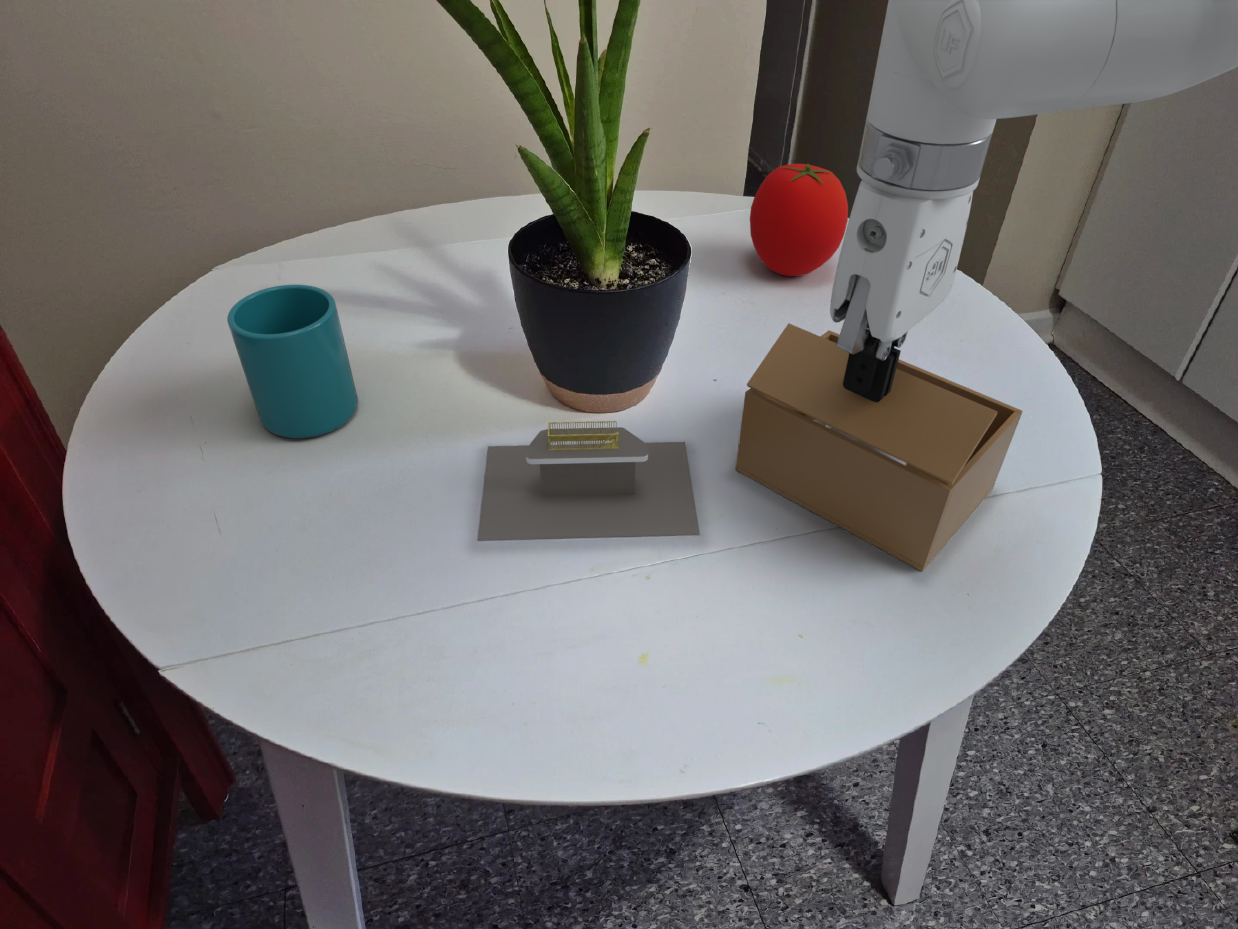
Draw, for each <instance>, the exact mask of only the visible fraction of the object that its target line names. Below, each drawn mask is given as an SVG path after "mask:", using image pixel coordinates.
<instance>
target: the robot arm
mask: <svg viewBox="0 0 1238 929" xmlns="http://www.w3.org/2000/svg"><path fill="white" fill-rule="evenodd" d="M882 28H883V29H882V34H881V39H880V43H879V44H880V45H879V50H878V53H877V54H878V55H877V60H876V66H875V71H874V76H873V82H872V87H871V91H870V92H871V94H870V98H869V103H868V108H867V113H866V118H865V123H864V129H863V134H862V139H861V144H860V148H859V149H860V150H859V155H858V159H857V165H856V173H857V176H858V177H859V178H860V179H861V180H860V183H859V186H858V188H857V192H856V195H855V199H854V200H853V201H854V202H853V205H852V207H851V210H850V211H851V212H850V215H849V217H848V221H847V225H846V229H845V233H844V236H843V239H842V244H841V249H840V252H839V256H838V261H837V265H836V270H835V275H834V278H833V279H834V280H833V285H832V290H831V296H830V297H831V298H830V305H829V308H830V309H829V315H830V318H831V319H832V322H834V323H836V324H837V323H841V322H842V321H843V323H842V327H841V329H840V333H839V334H840V336H839V339H838V342H837V348H839V349H841V350H844V351H846V352H848V353H849V357H848V361H847V366H846V371H845V375H844V380H843V387H844V388H845V389H847V390H849V391H851V392H853V393H855V394H858V395H860V396H862V397H864V398H867V399H869V400H871V401H873V402H879V401H880V400H882V399H883V397H884V396H886V395H887V394H888V393H889V392H890V391H891V387H892V383H893V379H894V375H895V372H896V368H897V364H898V360H899V359H900V356H901V352H902V351H901V350H900V348H901V347H902V346H903V345H904V343H905V342H906V339H907V336H908V333H909V331H910V330H911V329H912V328H914V327H915V326H916V325H917V324H919V323H920V322H921V321H923V320H924V319H925V318H926V317H927V316H928V315H930V314H931V313H932V312H933V311H934V310H936V308H938V307H939V306H940V305H941V304H942V303H943V302H945V300H946V299H947V297H948V296H949V294H950V293H951V291H952V288H953V285H954V282H955V281H954V280H955V278H956V273H957V269H958V265H959V261H960V257H961V252H962V248H963V244H964V240H965V236H966V232H967V227H968V222H969V217H970V212H971V208H972V203H973V201H972V200H973V196H974V191H975V190H976V189H977V188H978V186H979V182H980V179H981V175H982V172H983V168H984V165H985V161H986V159H987V158H986V157H987V154H988V151H989V147H990V143H991V140H992V136H993V133H994V129H995V126H996V124H997V123H996V122H997V120H999V119H1010V118H1011V119H1012V118H1019V117H1028V116H1029V117H1030V116H1037V115H1044V114H1045V115H1046V114H1052V113H1058V112H1064V111H1073V110H1081V109H1089V108H1090V109H1091V108H1096V107H1097V108H1098V107H1104V106H1114V105H1125V104H1133V103H1134V104H1135V103H1141V102H1147V101H1151V100H1156V99H1159V98H1164V97H1166V96H1170V95H1172V94H1175V93H1179V92H1181V91H1184V90H1186V89H1189V88H1192V87H1195V86H1197V85H1199V84H1202V83H1204V82H1206V81H1209V80H1211V79H1214V78H1215V77H1218V76H1220V75H1223V74H1225V73H1227V72H1229V71H1231V70H1235V69H1237V68H1238V0H888V2H887V6H886V12H885V18H884V22H883V27H882Z"/></svg>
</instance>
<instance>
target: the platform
mask: <svg viewBox="0 0 1238 929" xmlns="http://www.w3.org/2000/svg"><path fill="white" fill-rule="evenodd" d="M604 423H608V427H604ZM613 423H615V426H613ZM563 424H565V427H563ZM572 424H574V425H572ZM579 424H581V427H579ZM588 424H590V427H588ZM597 424H599V427H597ZM617 424H618V422H617V420H591V421H589V420H588V421H554V422H553V421H548V422H547V428H546V429H543V430H540V431H539V432H538V433H537V434H536V436H535V437H534V438H533V440H532V441H531V442H530V443H529V444H528V445H488V446H487V454H486V464H485V473H484V481H483V490H482V498H481V500H482V501H481V507H480V508H481V509H480V516H479V517H480V518H479V526H478V535H477V541H506V540H508V541H509V540H511V541H512V540H547V539H549V540H550V539H583V538H586V539H587V538H620V537H621V538H622V537H623V538H624V537H625V538H627V537H661V536H663V537H665V536H697V535H698V536H699V535H700V534H701V533H700V527H699V522H698V515H697V509H696V502H695V497H694V496H695V495H694V489H693V483H692V477H691V471H690V465H689V458H688V452H687V446H686V441H662V442H661V441H660V442H657V441H656V442H655V441H654V442H645V441H643V440H642V439H640V438H639V437H637V436H636V435H635V434H633V433H632V432H630V431H629V430H628V429H626V428H624V427H622V426H619V427H618V425H617ZM554 426H556V428H554ZM570 426H572V427H570ZM601 426H602V427H601Z"/></svg>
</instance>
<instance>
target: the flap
mask: <svg viewBox="0 0 1238 929" xmlns="http://www.w3.org/2000/svg"><path fill="white" fill-rule="evenodd" d="M848 357H849V353H848V352H846V351H844V350H841V349H839V348H837V343H834V342H832V341H830V340H827V339H825V338H823V337H820V335H819V334H818V335H817V334H816V333H812V332H811V331H809V330H806V329H804V328H802V327H799V326H796V325H794V324H792V323H787V325H786V326H785V327H784V328H783V331H782V332H781V333H780V335H779V336H778V338H777V339H776V341H775V342H774V344H773V345H772V346H771V348H770V350H769V351H768V352H767V353H766V355H765V356H764V358H763V360H761V363H760V364H759V365H758V367H757V368H756V370H755V371H754V372H753V374H752V375H751V377H750V378H749V380H748V382H747V383H746V386H747V388H749V389H750V388H752V389H754V390H756V391H758V392H760V393H762V394H764V395H766V396H768V397H770V398H772V399H775V400H777V401H779V402H781V403H783V404H785V405H787V406H789V407H791V408H793V409H795V410H797V411H799V412H802V413H804V414H806V415H808V416H810V417H812V418H814V419H816V420H818V421H820V422H822V423H824V424H826V425H829V426H831V427H833V428H835V429H837V430H839V431H841V432H843V433H845V434H847V435H849V436H851V437H854V438H856V439H858V440H860V441H862V442H864V443H866V444H868V445H870V446H872V447H874V448H876V449H878V450H881V451H883V452H885V453H887V454H889V455H891V456H893V457H895V458H897V459H899V460H901V461H903V462H905V463H908V464H910V465H912V466H914V467H916V468H918V469H920V470H922V471H924V472H926V473H928V474H930V475H933V476H935V477H937V478H939V479H941V480H943V481H945V482H947V483H949V484H951V485H952V484H953V483H954V481H955V480H956V478H957V477H958V475H959V473H960V472H961V470H962V469H963V467H964V466H965V464H966V462H967V461H968V459H969V458H970V456H971V455H972V453H973V451H974V450H975V448H976V447H977V445H978V444H979V442H980V440H981V439H982V437H983V436H984V434H985V433H986V431H987V429H988V428H989V426H990V425H991V423H992V421H993V420H994V418H995V417H996V415H997V411H995V410H992V409H990V408H988V407H985V406H983V405H981V404H978V403H976V402H974V401H971V400H969V399H967V398H964V397H962V396H959V395H957V394H955V393H952V392H950V391H948V390H945V389H943V388H941V387H938V386H936V385H933V384H931V383H929V382H926V381H924V380H922V379H919V378H917V377H915V376H912V375H910V374H907V373H905V372H903V371H900V370H898V369H896V372H895V375H894V379H893V383H892V387H891V391H890V392H889V393H888V394H887V395H886V396H884V397H883V399H882V400H880V401H879V402H873V401H871V400H869V399H867V398H864V397H862V396H860V395H858V394H855V393H853V392H851V391H849V390H847V389H845V388H844V387H843V380H844V375H845V371H846V366H847V361H848Z"/></svg>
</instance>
